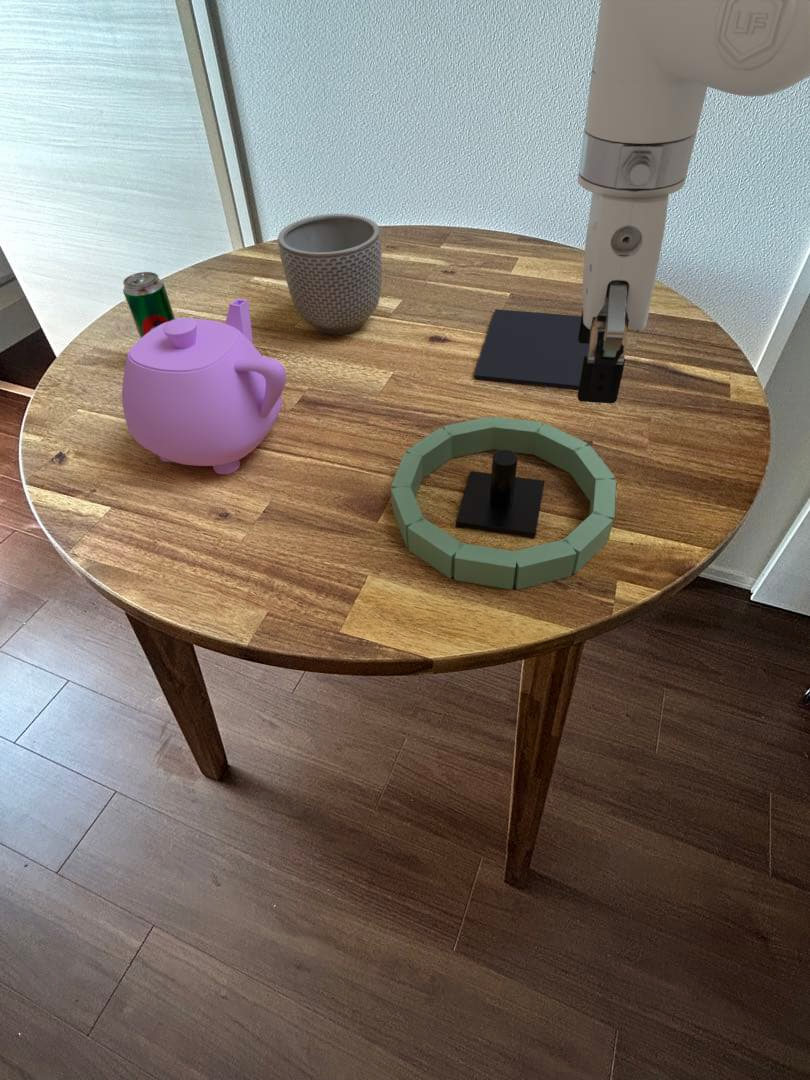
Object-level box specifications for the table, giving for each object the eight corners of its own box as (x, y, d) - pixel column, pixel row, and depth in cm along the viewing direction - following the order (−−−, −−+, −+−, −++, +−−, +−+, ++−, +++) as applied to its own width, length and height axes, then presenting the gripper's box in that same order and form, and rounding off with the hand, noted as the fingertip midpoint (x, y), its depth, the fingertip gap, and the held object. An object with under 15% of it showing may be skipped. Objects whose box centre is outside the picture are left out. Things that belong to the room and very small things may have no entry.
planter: (386, 345, 91) (380, 251, 82) (288, 349, 91) (270, 257, 82) (387, 299, 100) (381, 210, 91) (297, 303, 101) (283, 215, 91)
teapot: (343, 401, 82) (328, 285, 71) (268, 504, 69) (236, 383, 58) (209, 377, 87) (176, 266, 76) (117, 469, 74) (61, 352, 63)
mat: (620, 323, 92) (621, 319, 92) (616, 393, 81) (617, 389, 80) (495, 312, 96) (495, 308, 96) (473, 378, 84) (473, 374, 84)
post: (543, 485, 69) (550, 437, 65) (534, 538, 64) (542, 490, 59) (469, 476, 71) (471, 427, 66) (455, 526, 66) (456, 478, 61)
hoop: (613, 453, 73) (618, 430, 70) (604, 605, 58) (611, 582, 56) (422, 430, 77) (421, 408, 75) (370, 566, 63) (367, 543, 60)
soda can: (195, 359, 90) (169, 275, 82) (169, 377, 88) (139, 291, 79) (170, 350, 92) (142, 267, 84) (143, 367, 89) (111, 283, 81)
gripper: (705, 203, 40) (644, 430, 52) (677, 124, 51) (633, 325, 64) (579, 201, 41) (550, 423, 53) (580, 125, 53) (555, 321, 65)
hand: (595, 369), depth 59 cm, fingers open, 9 cm apart
